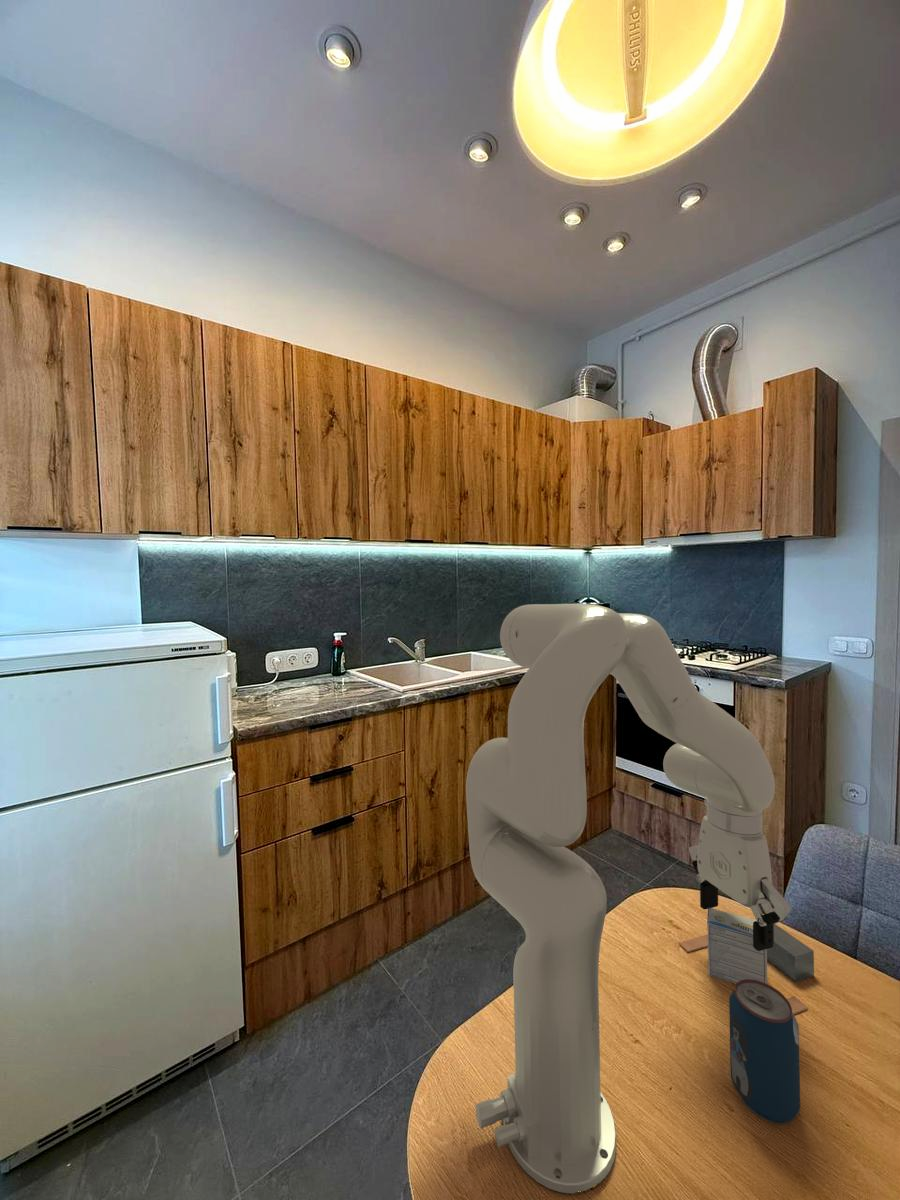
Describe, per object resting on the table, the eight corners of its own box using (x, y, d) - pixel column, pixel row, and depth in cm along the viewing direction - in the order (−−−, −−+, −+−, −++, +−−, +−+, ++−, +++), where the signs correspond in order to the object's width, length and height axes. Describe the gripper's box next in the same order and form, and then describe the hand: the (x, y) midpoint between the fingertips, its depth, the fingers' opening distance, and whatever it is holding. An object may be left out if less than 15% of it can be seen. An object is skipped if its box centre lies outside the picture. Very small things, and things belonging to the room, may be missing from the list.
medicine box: (765, 975, 73) (764, 920, 73) (768, 996, 69) (767, 939, 69) (708, 957, 77) (707, 905, 77) (708, 976, 73) (707, 922, 73)
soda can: (808, 1102, 55) (806, 1001, 55) (789, 1146, 51) (787, 1036, 51) (743, 1057, 60) (741, 966, 60) (721, 1093, 56) (719, 995, 56)
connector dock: (766, 1025, 65) (765, 996, 65) (678, 944, 80) (678, 921, 80) (842, 996, 69) (841, 969, 69) (745, 925, 84) (745, 903, 84)
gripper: (673, 798, 81) (674, 897, 80) (767, 848, 64) (768, 973, 64) (707, 793, 83) (708, 890, 83) (807, 840, 66) (808, 961, 66)
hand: (734, 926), depth 73 cm, fingers open, 9 cm apart
